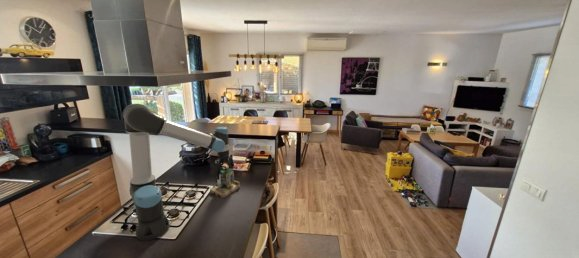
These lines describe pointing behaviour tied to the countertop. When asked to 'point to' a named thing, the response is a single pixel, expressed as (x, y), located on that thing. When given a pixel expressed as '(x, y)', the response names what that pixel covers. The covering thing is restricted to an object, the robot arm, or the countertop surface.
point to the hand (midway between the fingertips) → (224, 180)
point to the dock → (223, 191)
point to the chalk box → (226, 177)
